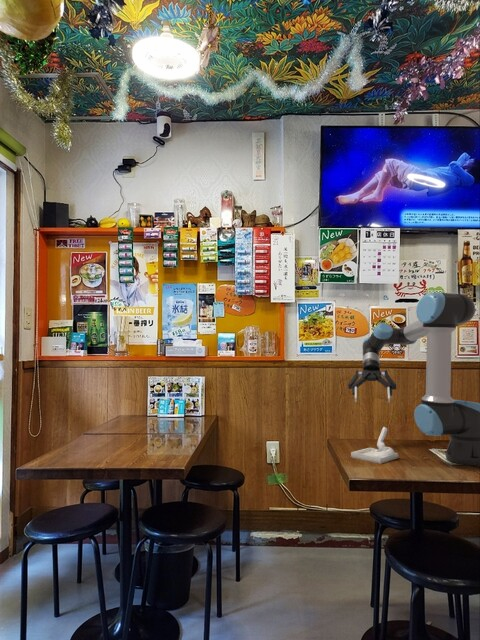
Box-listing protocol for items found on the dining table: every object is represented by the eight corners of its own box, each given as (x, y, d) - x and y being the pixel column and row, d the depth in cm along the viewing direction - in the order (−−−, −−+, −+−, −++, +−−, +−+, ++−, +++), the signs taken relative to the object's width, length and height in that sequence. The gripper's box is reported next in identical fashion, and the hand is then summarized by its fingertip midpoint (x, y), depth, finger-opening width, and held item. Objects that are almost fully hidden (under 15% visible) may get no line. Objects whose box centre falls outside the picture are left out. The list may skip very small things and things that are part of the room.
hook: (404, 435, 171) (389, 430, 170) (394, 464, 171) (378, 459, 170) (394, 430, 179) (380, 424, 177) (384, 457, 178) (369, 452, 177)
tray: (398, 458, 174) (398, 453, 174) (380, 463, 166) (380, 458, 166) (369, 452, 184) (369, 447, 184) (351, 457, 175) (351, 452, 175)
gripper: (399, 370, 202) (403, 406, 186) (344, 370, 209) (342, 405, 193) (400, 358, 197) (403, 394, 181) (343, 359, 204) (341, 394, 188)
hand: (372, 400), depth 187 cm, fingers open, 13 cm apart
